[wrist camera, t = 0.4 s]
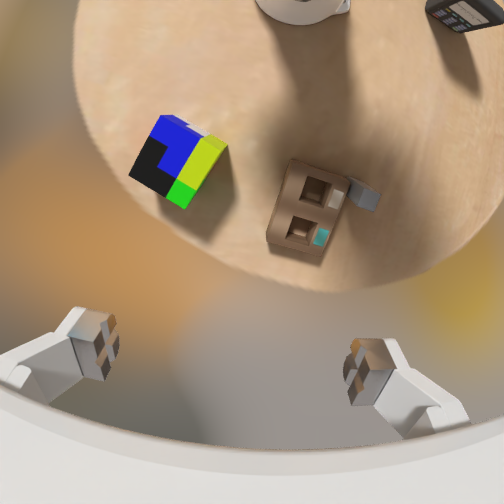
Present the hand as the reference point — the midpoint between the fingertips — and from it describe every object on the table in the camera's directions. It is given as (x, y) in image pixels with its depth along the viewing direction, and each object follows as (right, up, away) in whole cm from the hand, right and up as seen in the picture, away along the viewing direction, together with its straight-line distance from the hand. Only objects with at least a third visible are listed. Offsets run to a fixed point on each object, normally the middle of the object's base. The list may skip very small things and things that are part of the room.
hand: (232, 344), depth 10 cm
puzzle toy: (-10, +20, +40) cm, 46 cm away
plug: (+18, +15, +42) cm, 48 cm away
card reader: (+37, +48, +26) cm, 66 cm away
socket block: (+10, +11, +44) cm, 46 cm away
